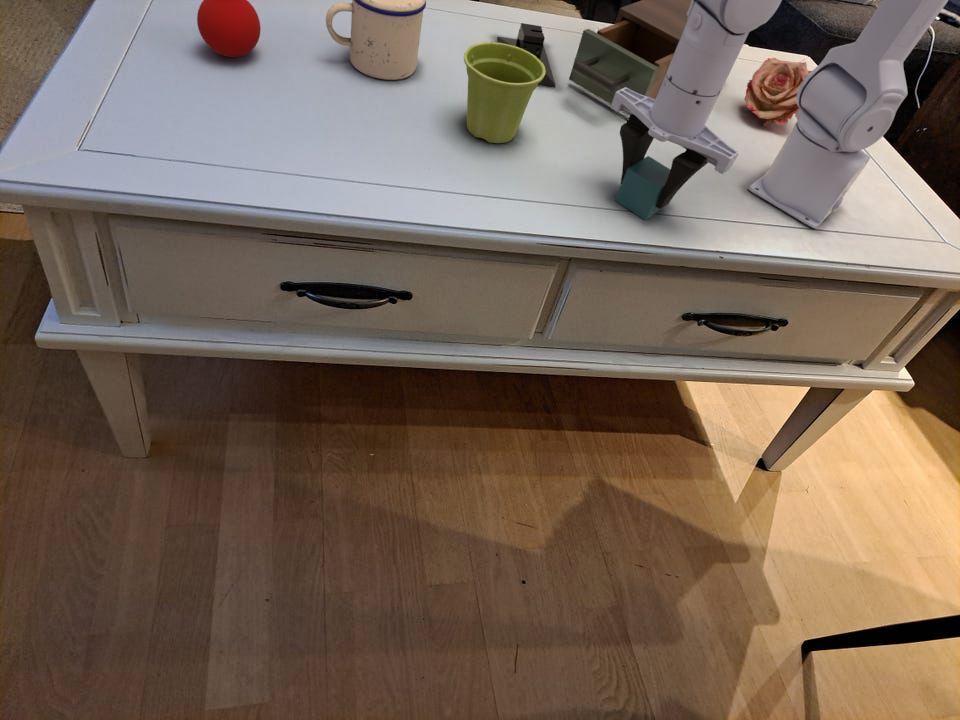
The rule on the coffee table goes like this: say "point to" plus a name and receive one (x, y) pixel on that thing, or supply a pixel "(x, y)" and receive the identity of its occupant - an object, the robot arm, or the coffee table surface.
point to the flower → (775, 90)
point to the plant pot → (499, 88)
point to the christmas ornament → (229, 26)
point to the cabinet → (658, 17)
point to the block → (643, 187)
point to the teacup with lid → (382, 35)
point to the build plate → (532, 48)
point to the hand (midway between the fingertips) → (644, 193)
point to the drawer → (622, 60)
